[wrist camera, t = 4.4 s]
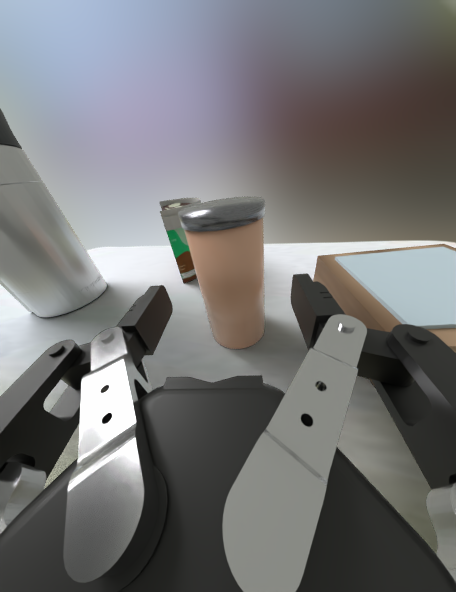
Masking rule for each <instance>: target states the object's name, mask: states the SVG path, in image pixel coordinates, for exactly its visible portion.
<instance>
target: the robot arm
mask: <svg viewBox="0 0 456 592" xmlns="http://www.w3.org/2000/svg"><path fill="white" fill-rule="evenodd" d="M0 284H1V285H2V286H3V287H4V288H5V289H6V290H7V291H8V292H9V293H10V294H11V295H12V296H13V297H14V298H15V299H16V300H18V301H19V302H20V303H21V304H22V305H23V306H24V307H25V308H26V309H27V310H28V311H29V312H34V313H35V314H36V315H37V316H39V317H53V316H58V315H62V314H65V313H68V312H71V311H74V310H76V309H78V308H80V307H83V306H84V305H86V304H88V303H90V302H92V301H93V300H95V299H96V298H97V297H99V296H100V295H101V294H102V293H103V292H104V291H105V289H106V288H107V284H106V282H105V280H104V279H103V277H102V276H101V274H100V272H99V271H98V269H97V268H96V266H95V264H94V263H93V261H92V259H91V258H90V256H89V255H88V253H87V251H86V250H85V248H84V247H83V245H82V243H81V242H80V240H79V239H78V237H77V235H76V234H75V232H74V231H73V229H72V227H71V226H70V224H69V223H68V221H67V220H66V218H65V216H64V215H63V213H62V211H61V210H60V208H59V207H58V205H57V203H56V202H55V200H54V199H53V197H52V195H51V194H50V193H49V191H48V189H47V187H46V186H45V184H44V183H43V181H42V180H41V178H40V176H39V175H38V173H37V172H36V170H35V168H34V167H33V165H32V164H31V162H30V160H29V159H28V157H27V156H26V154H25V152H24V151H23V150H22V148H21V146H20V145H19V143H18V141H17V140H16V138H15V136H14V135H13V133H12V131H11V129H10V127H9V125H8V123H7V121H6V119H5V117H4V115H3V113H2V111H1V109H0ZM291 305H292V308H293V310H294V313H295V316H296V318H297V321H298V323H299V326H300V329H301V331H302V334H303V337H304V339H305V342H306V344H307V347H308V350H309V351H308V353H307V355H306V357H305V359H304V360H303V362H302V364H301V366H300V368H299V370H298V371H297V373H296V375H295V377H294V379H293V381H292V382H291V384H290V386H289V388H288V390H287V392H286V394H285V393H284V392H282V391H281V390H279V389H277V388H276V387H273V386H271V385H268V384H265V383H263V380H262V376H236V377H232V378H228V379H225V380H221V381H218V382H214V383H210V382H206V381H203V380H199V379H195V378H191V377H167V378H166V381H165V384H164V386H161V387H159V388H156V389H154V390H153V388H152V385H151V382H150V379H149V376H148V373H147V370H146V366H145V363H144V361H143V360H142V358H143V356H144V355H153V353H154V351H155V349H156V347H157V345H158V343H159V340H160V338H161V336H162V334H163V332H164V329H165V327H166V325H167V323H168V321H169V319H170V316H171V314H172V310H173V308H172V303H171V301H170V298H169V296H168V293H167V291H166V289H165V287H164V286H163V285H160V286H151V287H150V288H149V289H148V290H147V292H146V293H145V294H144V295H142V296H141V297H140V298H138V299H137V300H136V301H135V303H134V304H133V306H132V307H131V308H130V309H129V311H128V312H127V313H126V314H125V316H124V317H123V318H122V320H121V321H120V322H119V324H118V325H117V326H116V327H112V328H109V329H106V330H104V331H102V332H101V333H99V334H98V335H97V336H96V337H95V338H94V339H93V340H92V342H91V343H87V344H84V345H80V346H78V345H77V344H76V343H75V342H74V341H73V340H65V341H61V342H59V343H57V344H55V345H53V346H52V347H50V348H49V349H47V350H46V351H45V352H44V353H43V354H42V355H41V356H40V357H39V358H38V359H37V360H36V361H35V362H34V363H33V364H32V365H31V366H30V367H29V368H28V369H27V370H26V371H25V372H24V373H23V374H22V375H21V376H20V377H19V378H18V379H17V380H16V381H15V382H14V383H13V384H12V385H11V386H10V387H9V388H8V389H7V390H6V391H5V392H4V393H3V394H2V395H1V396H0V592H456V353H455V352H454V351H453V350H452V349H451V348H450V347H449V346H448V345H446V344H445V343H444V342H443V341H442V340H441V339H440V338H439V337H438V336H436V335H435V334H434V333H432V332H430V331H428V330H426V329H424V328H421V327H418V326H415V325H410V324H399V325H396V326H395V327H393V329H392V331H391V332H386V331H380V330H375V329H369V328H366V326H365V325H364V324H363V323H362V322H361V321H360V320H358V319H356V318H354V317H352V316H349V315H346V314H345V313H344V311H343V310H342V309H341V307H340V306H339V304H338V303H337V302H336V300H335V299H334V298H333V296H332V295H331V293H329V291H328V289H327V288H326V286H324V285H323V284H321V283H320V282H318V281H314V282H313V281H312V279H311V278H310V276H309V275H308V274H296V275H293V280H292V289H291ZM357 376H361V377H365V378H369V379H371V380H372V382H373V384H374V386H375V388H376V389H377V391H378V393H379V395H380V397H381V399H382V400H383V402H384V404H385V406H386V408H387V409H388V411H389V413H390V415H391V417H392V418H393V420H394V422H395V424H396V426H397V427H398V429H399V431H400V433H401V435H402V437H403V438H404V440H405V442H406V444H407V446H408V447H409V449H410V451H411V453H412V455H413V456H414V458H415V460H416V462H417V464H418V465H419V467H420V469H421V471H422V473H423V475H424V476H425V478H426V480H427V482H428V484H429V485H430V487H431V489H432V490H431V491H430V492H429V493H428V495H427V499H426V505H427V511H428V514H429V517H430V520H431V522H432V526H433V528H434V530H435V533H436V537H437V544H438V547H437V554H435V552H434V551H433V550H432V549H431V548H430V546H429V545H428V544H427V543H426V542H425V541H424V540H423V539H422V537H421V536H420V535H419V534H418V533H417V532H416V531H415V530H414V529H413V528H412V527H411V526H410V525H409V523H408V522H407V521H406V520H405V519H404V518H403V517H402V516H401V515H400V514H399V513H398V512H397V511H396V510H395V508H394V507H393V506H392V505H391V504H390V503H389V502H388V501H387V500H386V499H385V498H384V497H383V496H382V495H381V494H380V492H379V491H378V490H377V489H376V488H375V487H374V486H373V485H372V484H371V483H370V482H369V481H368V480H367V479H366V477H365V476H364V475H363V474H362V473H361V472H360V471H359V470H358V469H357V468H356V467H355V466H354V465H353V464H352V463H351V461H350V460H349V459H348V458H347V457H346V456H345V455H344V454H343V453H342V452H341V451H340V450H339V449H338V448H337V444H338V440H339V437H340V433H341V430H342V426H343V422H344V419H345V415H346V412H347V408H348V405H349V401H350V398H351V394H352V391H353V387H354V384H355V380H356V377H357ZM60 379H61V380H63V381H64V382H65V383H67V384H68V385H69V386H68V387H67V389H66V390H65V392H64V393H63V394H62V396H61V397H60V398H59V400H58V401H57V403H56V404H55V405H54V407H53V408H52V409H51V411H50V412H47V411H45V410H44V407H43V404H44V401H45V399H46V397H47V396H48V395H49V393H50V392H51V391H52V390H53V388H54V387H55V386H56V384H57V383H58V382H59V381H60ZM79 423H80V425H79V448H78V458H77V459H76V460H75V461H74V462H73V463H72V464H71V465H70V466H69V467H67V468H66V469H65V470H64V471H63V472H62V473H61V474H60V475H59V476H58V477H57V478H56V479H55V480H54V481H53V482H52V483H51V484H49V485H48V486H47V487H46V488H45V489H44V486H45V483H46V480H47V478H48V476H49V474H50V473H51V471H52V469H53V468H54V466H55V464H56V462H57V461H58V459H59V457H60V455H61V454H62V452H63V450H64V448H65V447H66V445H67V443H68V442H69V440H70V438H71V436H72V435H73V433H74V431H75V429H76V428H77V426H78V424H79Z"/></svg>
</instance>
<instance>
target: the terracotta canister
mask: <svg viewBox="0 0 456 592" xmlns="http://www.w3.org/2000/svg"><path fill="white" fill-rule="evenodd" d="M178 215H179V218H180V222H181V226H182V228H183V229H184V231H185V234H186V238H187V242H188V245H189V249H190V253H191V256H192V260H193V264H194V268H195V271H196V275H197V279H198V282H199V286H200V290H201V293H202V297H203V301H204V304H205V308H206V312H207V315H208V319H209V323H210V326H211V330H212V334H213V337H214V339H215V340H216V341H217V342H218V343H219V344H220V345H222V346H224V347H226V348H230V349H243V348H247V347H250V346H252V345H254V344H255V343H257V342H258V341H259V340H260V339H261V338H262V336H263V334H264V331H265V310H264V245H263V216H264V215H265V201H264V198H261V197H235V198H226V199H220V200H214V201H209V202H204V203H200V204H196V205H193V206H189V207H187V208H184V209H182V210H180V211H179V212H178Z"/></svg>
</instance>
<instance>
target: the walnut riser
mask: <svg viewBox="0 0 456 592" xmlns="http://www.w3.org/2000/svg"><path fill="white" fill-rule="evenodd" d="M314 281H318V282H320V283H321V284H323V285H324V286H326V288H327V289H328V291H329V293H331V295H332V296H333V298H334V299H335V300H336V302H337V303H338V304H339V306H340V307H341V309H342V310H343V311H344V313H345V314H346V315H349V316H352V317H354V318H356V319H358V320H360V321H361V322H362V323H363V324H364V325H365V326H366V328H369V329H375V330H380V331H386V332H391V331H392V329H393V327H395V326H396V325H399V324H410V325H415V326H418V327H421V328H424V329H426V330H428V331H430V332H432V333H434V334H435V335H436V336H438V337H439V338H440V339H441V340H442V341H443V342H444V343H445V344H446V345H448V346H449V347H450V348H451V349H452V350H453V351H454V352H455V353H456V248H453V247H451V246H448V245H445V244H438V245H427V246H417V247H406V248H396V249H385V250H375V251H364V252H354V253H344V254H333V255H323V256H318V258H317V264H316V269H315V275H314V280H313V282H314ZM370 381H371V382H372V380H371V379H370ZM372 384H373V382H372ZM373 386H374V384H373ZM374 387H375V386H374Z"/></svg>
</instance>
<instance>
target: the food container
mask: <svg viewBox="0 0 456 592" xmlns="http://www.w3.org/2000/svg"><path fill="white" fill-rule="evenodd" d="M200 203H201V202H200V199H199V198H181V199H173V200H167V201H161V202H160V205H161V208H162V211H160V213H161V216H162V219H163V222H164V226H165V229H166V231H167V234H168V237H169V240H170V243H171V247H172V250H173V253H174V256H175V259H176V262H177V265H178V268H179V271H180V274H181V277H182V280H183V283H186V282H190V281H192V280H194V279H196V278H197V275H196V271H195V268H194V264H193V260H192V256H191V253H190V249H189V245H188V242H187V238H186V234H185V231H184V229H183V228H182V226H181V222H180V218H179V215H178V212H179V211H180V210H182V209H184V208H187V207H189V206H193V205H196V204H200Z"/></svg>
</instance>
